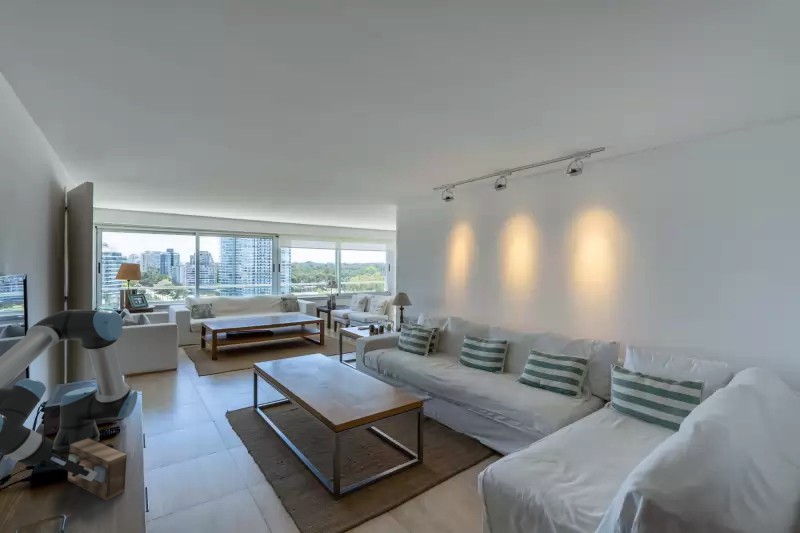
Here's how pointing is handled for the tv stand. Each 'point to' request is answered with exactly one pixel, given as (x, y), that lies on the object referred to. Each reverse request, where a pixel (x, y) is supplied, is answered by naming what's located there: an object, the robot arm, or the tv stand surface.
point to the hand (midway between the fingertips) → (93, 476)
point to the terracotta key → (84, 463)
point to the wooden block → (109, 460)
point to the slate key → (100, 473)
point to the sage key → (74, 458)
